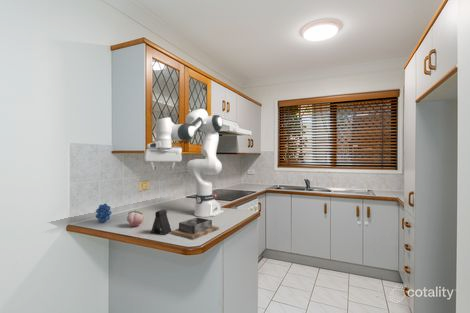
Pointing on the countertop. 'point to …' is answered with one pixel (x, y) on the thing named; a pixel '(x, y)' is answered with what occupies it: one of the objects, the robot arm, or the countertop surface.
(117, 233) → the countertop surface
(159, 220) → the phone stand
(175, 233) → the socket board
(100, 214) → the grapes
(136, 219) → the decorative fruit
